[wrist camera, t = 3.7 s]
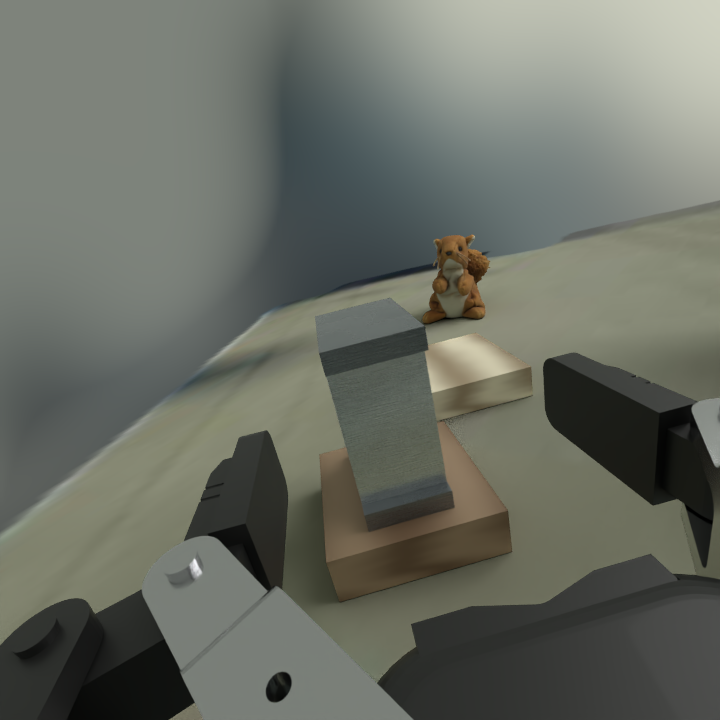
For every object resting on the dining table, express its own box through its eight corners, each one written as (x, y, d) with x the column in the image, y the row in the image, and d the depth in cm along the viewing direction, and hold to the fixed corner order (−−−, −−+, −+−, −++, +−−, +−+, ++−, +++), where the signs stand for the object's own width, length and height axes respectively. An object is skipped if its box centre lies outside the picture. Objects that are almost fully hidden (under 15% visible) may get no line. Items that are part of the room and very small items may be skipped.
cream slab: (478, 355, 47) (475, 332, 46) (532, 395, 36) (530, 366, 35) (385, 379, 46) (380, 357, 45) (411, 428, 35) (405, 399, 34)
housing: (417, 437, 28) (390, 297, 24) (455, 507, 21) (424, 326, 17) (352, 454, 28) (315, 316, 24) (368, 531, 21) (319, 353, 17)
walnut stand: (448, 452, 30) (443, 420, 29) (511, 551, 21) (507, 510, 20) (329, 485, 30) (319, 454, 29) (339, 602, 21) (326, 562, 20)
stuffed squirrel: (420, 326, 63) (406, 246, 58) (445, 301, 74) (435, 233, 69) (481, 323, 58) (471, 235, 53) (498, 297, 69) (491, 222, 64)
